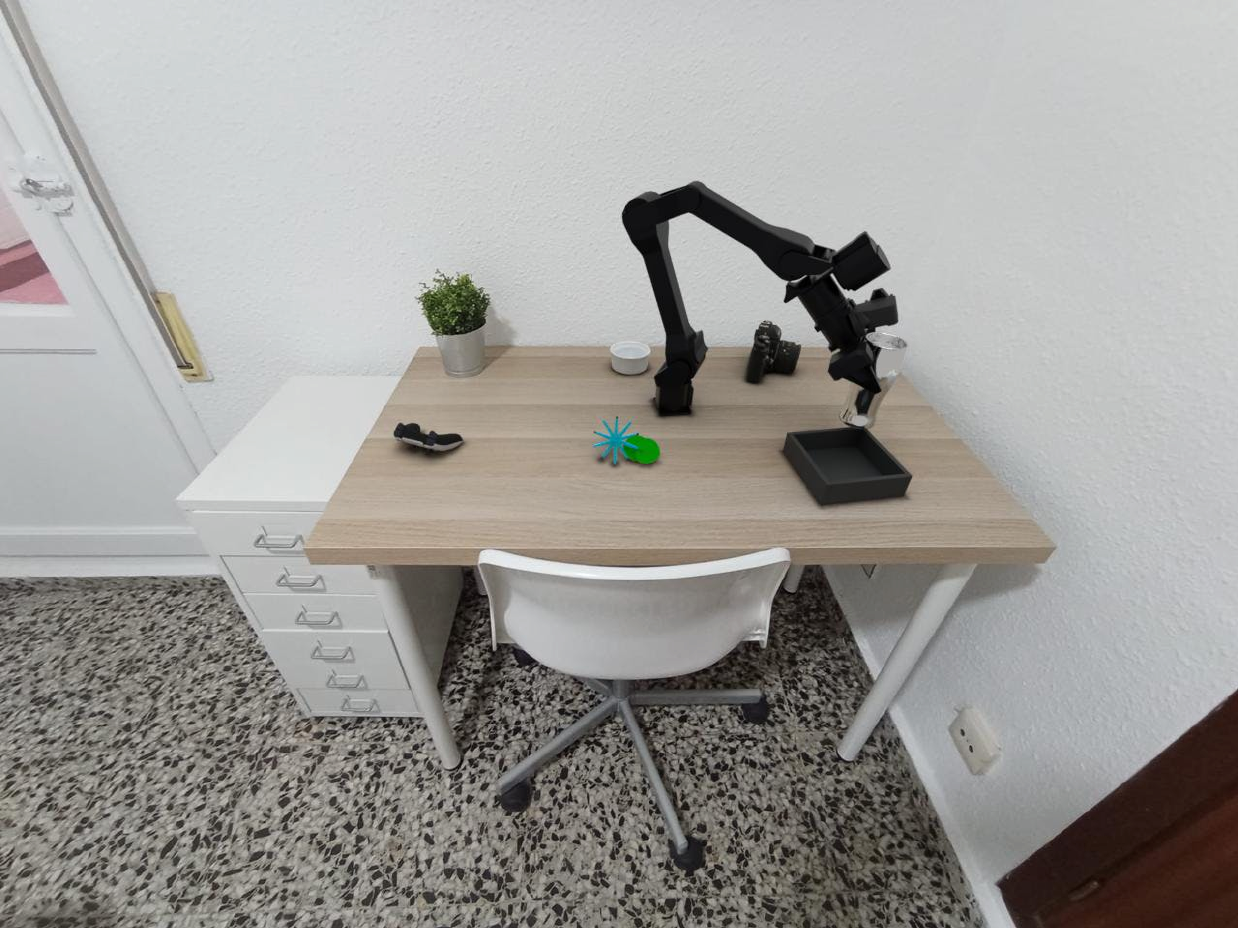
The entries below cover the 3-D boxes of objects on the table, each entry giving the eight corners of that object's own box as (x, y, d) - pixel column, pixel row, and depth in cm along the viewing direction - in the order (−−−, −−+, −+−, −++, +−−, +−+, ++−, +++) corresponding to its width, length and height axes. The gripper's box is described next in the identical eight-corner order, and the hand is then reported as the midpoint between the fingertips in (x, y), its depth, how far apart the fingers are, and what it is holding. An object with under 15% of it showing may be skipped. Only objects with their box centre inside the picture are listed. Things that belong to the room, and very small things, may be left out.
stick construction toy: (585, 453, 92) (601, 409, 92) (586, 452, 99) (601, 411, 99) (652, 478, 93) (668, 434, 92) (648, 475, 100) (663, 434, 99)
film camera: (806, 389, 116) (818, 345, 110) (748, 387, 116) (756, 344, 110) (787, 352, 131) (796, 311, 125) (735, 350, 130) (742, 310, 124)
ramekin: (612, 356, 126) (613, 339, 124) (651, 360, 126) (652, 342, 123) (606, 374, 119) (607, 356, 117) (647, 378, 119) (648, 360, 116)
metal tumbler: (884, 431, 94) (918, 350, 85) (845, 430, 93) (875, 349, 84) (866, 410, 99) (897, 332, 90) (829, 409, 99) (857, 330, 90)
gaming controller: (408, 447, 100) (383, 439, 93) (415, 423, 100) (391, 414, 94) (459, 460, 97) (437, 453, 90) (466, 436, 97) (444, 427, 91)
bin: (820, 505, 86) (827, 484, 84) (782, 451, 98) (787, 432, 95) (904, 496, 89) (913, 476, 86) (857, 445, 100) (863, 425, 98)
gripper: (876, 297, 76) (932, 384, 79) (878, 260, 90) (926, 336, 93) (804, 340, 83) (859, 418, 86) (816, 299, 97) (863, 368, 100)
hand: (879, 383), depth 91 cm, fingers closed on metal tumbler, 7 cm apart
